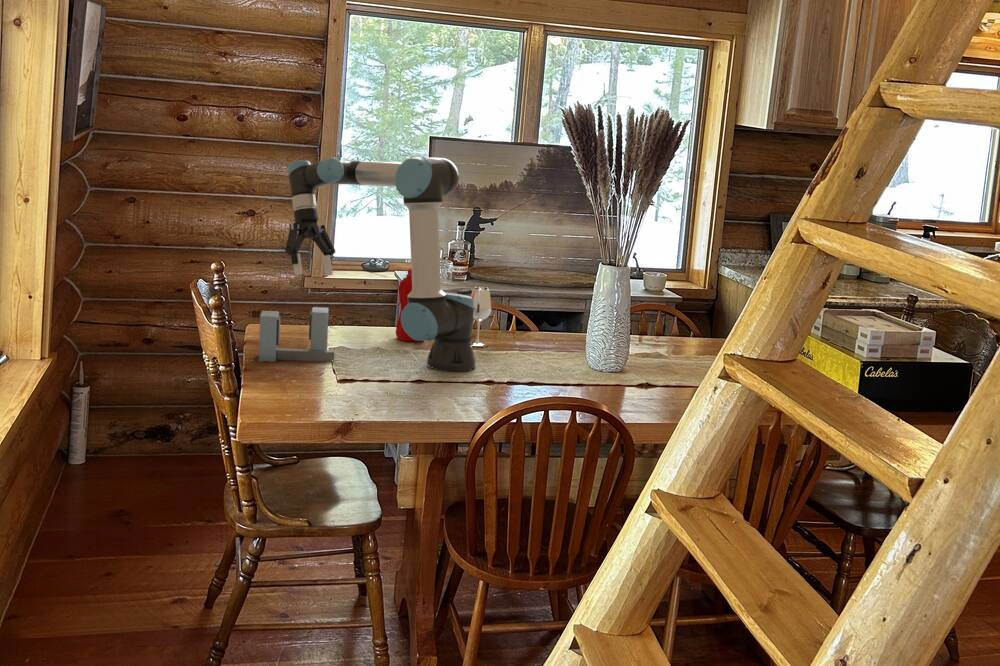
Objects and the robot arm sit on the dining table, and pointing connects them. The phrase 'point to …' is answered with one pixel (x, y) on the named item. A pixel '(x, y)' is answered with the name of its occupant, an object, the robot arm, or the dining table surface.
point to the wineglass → (480, 308)
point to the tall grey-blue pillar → (318, 328)
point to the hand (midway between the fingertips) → (314, 275)
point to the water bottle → (404, 304)
